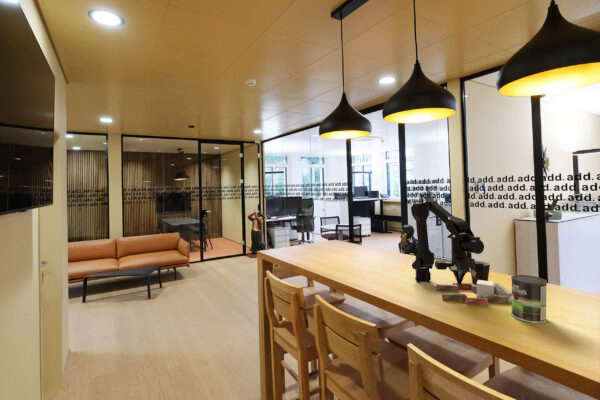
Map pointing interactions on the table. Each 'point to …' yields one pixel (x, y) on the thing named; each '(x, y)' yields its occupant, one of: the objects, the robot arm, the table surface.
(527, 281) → the coffee can
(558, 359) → the table surface
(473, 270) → the coffee mug
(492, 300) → the trap lane
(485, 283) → the white cube
